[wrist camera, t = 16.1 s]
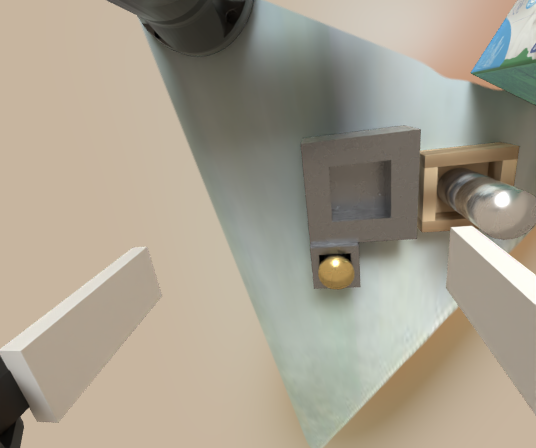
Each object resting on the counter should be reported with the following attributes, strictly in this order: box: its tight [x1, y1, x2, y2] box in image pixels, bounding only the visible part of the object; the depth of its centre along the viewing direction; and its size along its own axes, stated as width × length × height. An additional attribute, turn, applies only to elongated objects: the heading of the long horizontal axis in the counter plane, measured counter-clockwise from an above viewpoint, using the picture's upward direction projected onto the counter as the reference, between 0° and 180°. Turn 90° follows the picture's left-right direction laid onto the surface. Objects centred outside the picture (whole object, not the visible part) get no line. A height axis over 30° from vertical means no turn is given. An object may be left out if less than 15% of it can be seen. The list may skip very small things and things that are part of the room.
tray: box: [417, 142, 519, 232], centre depth 39 cm, size 10×10×4 cm
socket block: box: [301, 125, 421, 289], centre depth 40 cm, size 19×13×8 cm
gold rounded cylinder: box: [318, 254, 354, 289], centre depth 41 cm, size 4×4×7 cm
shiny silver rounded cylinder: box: [437, 168, 536, 239], centre depth 34 cm, size 5×5×12 cm
